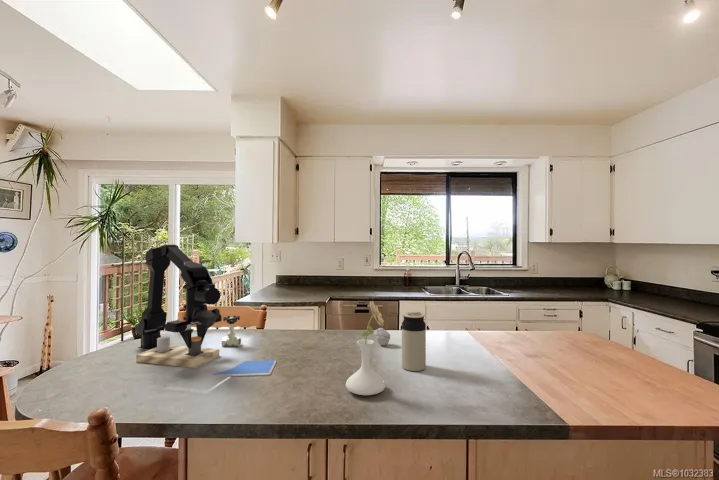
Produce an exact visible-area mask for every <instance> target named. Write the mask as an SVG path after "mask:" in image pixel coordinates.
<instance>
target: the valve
mask: <svg viewBox="0 0 719 480" xmlns="http://www.w3.org/2000/svg"><path fill="white" fill-rule="evenodd" d="M240 317H241V316H240V315H237V316H236V315H232V316H231V315H227V316H224V317H223V319H222V321H223V322H226V323H227V324H229V326H228V330H229V331H228V332H227V336H224V337H222V340H221V347H229V348H231V347H240V346H241V344H242V338H241V337H240V336H236V332H235V331H234V329H235V326H234V324H235V323H237V322H238V321H239V320H241V318H240Z"/></svg>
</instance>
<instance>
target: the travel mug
mask: <svg viewBox="0 0 719 480" xmlns="http://www.w3.org/2000/svg"><path fill="white" fill-rule="evenodd" d="M402 316H403V320H402V322H401V367H402V369H404V370H406V371H408V372H421V371H424V370H425V369H426V368H427V367H426V364H427V363H426V362H427V360H426V359H427V357H426V356H427V353H426V352H427V351H426V350H427V348H426V346H427V344H426V341H427V340H426V339H427V336H426V335H427V333H426V332H427V329H426V326H427V325H426V322H425V316H426V314H424V313H423V312H418V311H406V312H404V313H402Z"/></svg>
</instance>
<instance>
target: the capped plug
mask: <svg viewBox="0 0 719 480" xmlns="http://www.w3.org/2000/svg"><path fill="white" fill-rule="evenodd" d="M201 348H202V345H201V336H197V335H194V336H191V348H188V355H189V356H197V355H199V354H201Z"/></svg>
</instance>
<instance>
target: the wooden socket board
mask: <svg viewBox="0 0 719 480" xmlns="http://www.w3.org/2000/svg"><path fill="white" fill-rule="evenodd" d="M219 356H220V348H209V347H201V354H199V355H197V356H189V355H188V347H187V345H186V346H185V345H173V344H172V345H171V344H170V351H168V352H166V353H157V347H155V348H152V349H147V350H145V351H143V352H140V353H138V354H136V358H135V361H136V363H142V364H152V365H153V364H154V365H155V364H156V365H162V366H163V365H165V366H173V367H185V368H192V369H193V368H194V369H197V368H199V367H201V366H202V365H205V364H206V363H209V362H211V361H212V360H214V359H216V358H218V357H219Z"/></svg>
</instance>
